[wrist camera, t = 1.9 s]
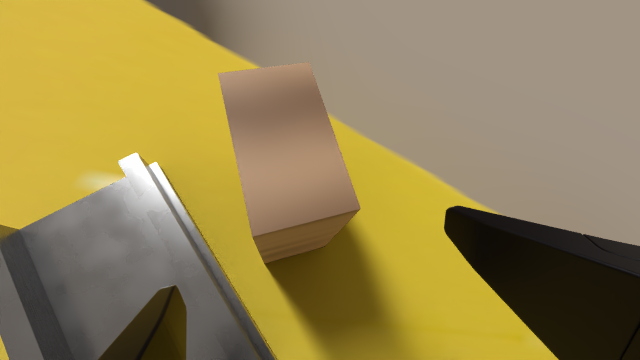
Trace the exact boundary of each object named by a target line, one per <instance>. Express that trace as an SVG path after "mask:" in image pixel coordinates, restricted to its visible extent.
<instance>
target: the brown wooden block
mask: <svg viewBox="0 0 640 360" xmlns="http://www.w3.org/2000/svg"><path fill="white" fill-rule="evenodd" d="M218 76H219V80H220V85H221V90H222V95H223V99H224V104H225V109H226V114H227V118H228V123H229V128H230V133H231V137H232V142H233V147H234V152H235V156H236V161H237V166H238V171H239V175H240V180H241V185H242V190H243V194H244V199H245V204H246V209H247V213H248V218H249V223H250V228H251V232H252V237H253V239H254V241H255V244H256V246H257V248H258V251H259V253H260V255H261V257H262V260H263V262H264V264H265V263H269V262H272V261H276V260H279V259H283V258H286V257H290V256H293V255H297V254H300V253H304V252H307V251H311V250H314V249H318V248H321V247H325V246H326V245H327V244H328V243H329V241H330V240H331V239H332V238H333V237H334V236H335V235H336V234H337V233H338V232H339V231H340V230H341V229H342V228H343V227H344V226H345V225H346V224H347V223H348V222H349V220H350V219H351V218H352V217H353V216H354V215H355V214H356V213H357V212H358V211H359V210H360V209H361V208H360V205H359V203H358V200H357V197H356V194H355V191H354V188H353V186H352V183H351V180H350V177H349V174H348V171H347V169H346V166H345V163H344V160H343V157H342V154H341V151H340V149H339V146H338V143H337V140H336V137H335V134H334V132H333V129H332V126H331V123H330V120H329V117H328V115H327V112H326V109H325V106H324V103H323V100H322V98H321V95H320V92H319V89H318V86H317V83H316V81H315V78H314V75H313V72H312V69H311V66H310V63H309V62H307V63H299V64H291V65H283V66H274V67H267V68H258V69H250V70H242V71H234V72H226V73H218Z"/></svg>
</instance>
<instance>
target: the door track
mask: <svg viewBox="0 0 640 360" xmlns="http://www.w3.org/2000/svg"><path fill="white" fill-rule="evenodd" d="M118 163H119V165H120V166H121V168H122V170H123V172H124V173H125V175H126V177H125V178H123V179H121V180H119V181H117V182H115V183H113V184H111V185H109V186H107V187H105V188H103V189H101V190H99V191H96V192H94V193H92V194H90V195H88V196H86V197H84V198H82V199H80V200H78V201H76V202H74V203H72V204H70V205H68V206H66V207H64V208H62V209H60V210H58V211H56V212H54V213H52V214H50V215H48V216H46V217H44V218H42V219H40V220H38V221H36V222H34V223H32V224H30V225H28V226H26V227H24V228H22V229H20V230H19V229H15V228H11V227H7V226H3V225H0V335H1V338H2V341H3V343H4V346H5V349H6V352H7V354H8V357H9V360H97V359H98V358H99V357H100V356H101V355H102V354H103V353H104V352H105V350H106V349H107V348H108V347H109V346H110V345H111V344H112V342H113V341H114V340H115V339H116V338H117V337H118V336H119V334H120V333H121V332H122V331H123V330H124V329H125V328H126V326H127V325H128V324H129V323H130V322H131V321H132V320H133V319H134V317H135V316H136V315H137V314H138V313H139V312H140V311H141V309H142V308H143V307H144V306H145V305H146V304H147V303H148V301H149V300H150V299H151V298H152V297H153V296H154V295H155V293H156V292H157V291H158V290H159V289H161V288H164V287H167V286H171V285H176V286H177V287H178V288H179V291H180V293H181V296H182V298H183V300H184V303H185V305H186V310H187V340H186V360H277V359H276V357H275V355H274V354H273V352H272V350H271V349H270V347H269V345H268V344H267V342H266V340H265V339H264V337H263V335H262V334H261V332H260V331H259V329H258V327H257V326H256V324H255V322H254V321H253V319H252V317H251V316H250V314H249V312H248V311H247V309H246V307H245V306H244V304H243V302H242V301H241V299H240V297H239V296H238V294H237V292H236V291H235V289H234V287H233V286H232V284H231V282H230V281H229V279H228V277H227V276H226V274H225V272H224V271H223V269H222V267H221V266H220V264H219V262H218V261H217V259H216V258H215V256H214V254H213V253H212V251H211V249H210V248H209V246H208V244H207V243H206V241H205V239H204V238H203V236H202V234H201V233H200V231H199V229H198V228H197V226H196V224H195V223H194V221H193V219H192V218H191V216H190V214H189V213H188V211H187V209H186V208H185V206H184V204H183V203H182V201H181V199H180V198H179V196H178V194H177V193H176V191H175V190H174V188H173V186H172V185H171V183H170V181H169V180H168V178H167V176H166V175H165V173H164V171H163V170H162V168H161V167H160V166H159V165H158V163H157V162H155V163H153V164H151V165H148V164H147V163H146V162H145V161H144V159H143V158H142V157H141V156H140V155H139V154H138V153H137V152H136V153H134V154H132V155H130V156H128V157H126V158H124V159H122V160H120V161H118Z"/></svg>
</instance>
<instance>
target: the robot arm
mask: <svg viewBox="0 0 640 360" xmlns="http://www.w3.org/2000/svg"><path fill="white" fill-rule="evenodd" d="M444 230H445V233H446V234H447V236H448V237H449V238H450V240H451V241H452V242H453V243H454V245H455V246H456V247H457V249H458V250H459V251H460V252H461V254H462V255H463V256H464V258H465V259H466V260H467V261H468V263H469V264H470V265H471V266H472V268H473V269H474V270H475V271H476V272H477V273H478V274H479V275H480V276H481V278H482V279H483V280H484V281H485V282H486V283H487V284H488V285H489V286H490V287H491V288H492V289H493V290H494V291H495V292H496V293H497V295H498V296H499V297H500V298H501V299H502V300H503V301H504V302H505V303H506V304H507V305H508V306H509V307H510V308H511V309H512V310H513V312H514V313H515V314H516V315H517V316H518V317H519V318H520V319H521V320H522V321H523V322H524V323H525V324H526V325H527V326H528V328H529V329H530V330H531V331H532V332H533V333H534V334H535V335H536V336H537V337H538V338H539V339H540V340H541V341H542V342H543V343H544V345H545V346H546V347H547V348H548V349H549V350H550V351H551V352H552V353H553V354H554V355H555V356H556V357H557V358H558V359H559V360H640V246H637V245H632V244H626V243H622V242H617V241H612V240H608V239H603V238H599V237H594V236H590V235H586V234H583V235H582V234H581V233H577V232H572V231H568V230H563V229H559V228H554V227H550V226H546V225H541V224H537V223H533V222H528V221H524V220H520V219H515V218H511V217H507V216H502V215H498V214H493V213H489V212H485V211H480V210H476V209H471V208H467V207H463V206H454V207H450V208H448V209H447V210H446V214H445V224H444ZM186 340H187V310H186V305H185V303H184V300H183V298H182V296H181V293H180V291H179V288H178V287H177V286H176V285H171V286H167V287H164V288H161V289H159V290H158V291H157V292H156V293H155V295H154V296H153V297H152V298H151V299H150V300H149V301H148V303H147V304H146V305H145V306H144V307H143V308H142V309H141V311H140V312H139V313H138V314H137V315H136V316H135V317H134V319H133V320H132V321H131V322H130V323H129V324H128V325H127V326H126V328H125V329H124V330H123V331H122V332H121V333H120V334H119V336H118V337H117V338H116V339H115V340H114V341H113V342H112V344H111V345H110V346H109V347H108V348H107V349H106V350H105V352H104V353H103V354H102V355H101V356H100V357H99V358H98V359H97V360H186Z"/></svg>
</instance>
